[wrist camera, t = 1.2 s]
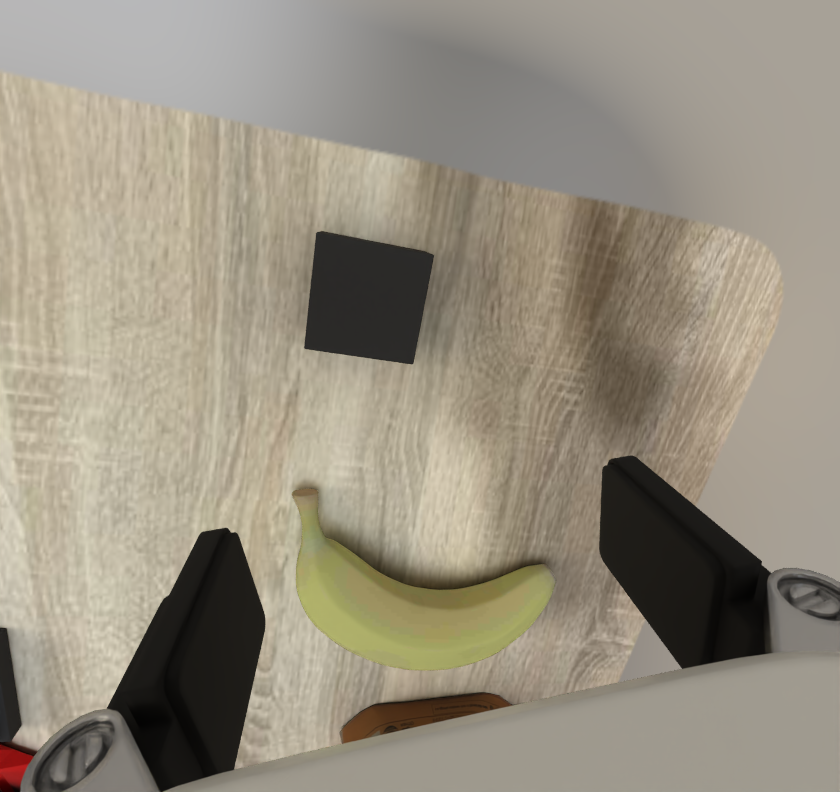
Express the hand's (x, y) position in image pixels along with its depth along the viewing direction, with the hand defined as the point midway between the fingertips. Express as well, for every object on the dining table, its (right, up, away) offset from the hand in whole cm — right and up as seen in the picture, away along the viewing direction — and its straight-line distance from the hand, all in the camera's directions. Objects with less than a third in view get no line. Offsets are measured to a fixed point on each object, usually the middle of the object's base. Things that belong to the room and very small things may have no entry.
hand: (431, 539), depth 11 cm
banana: (-1, -8, +23) cm, 24 cm away
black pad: (-3, +10, +15) cm, 18 cm away
